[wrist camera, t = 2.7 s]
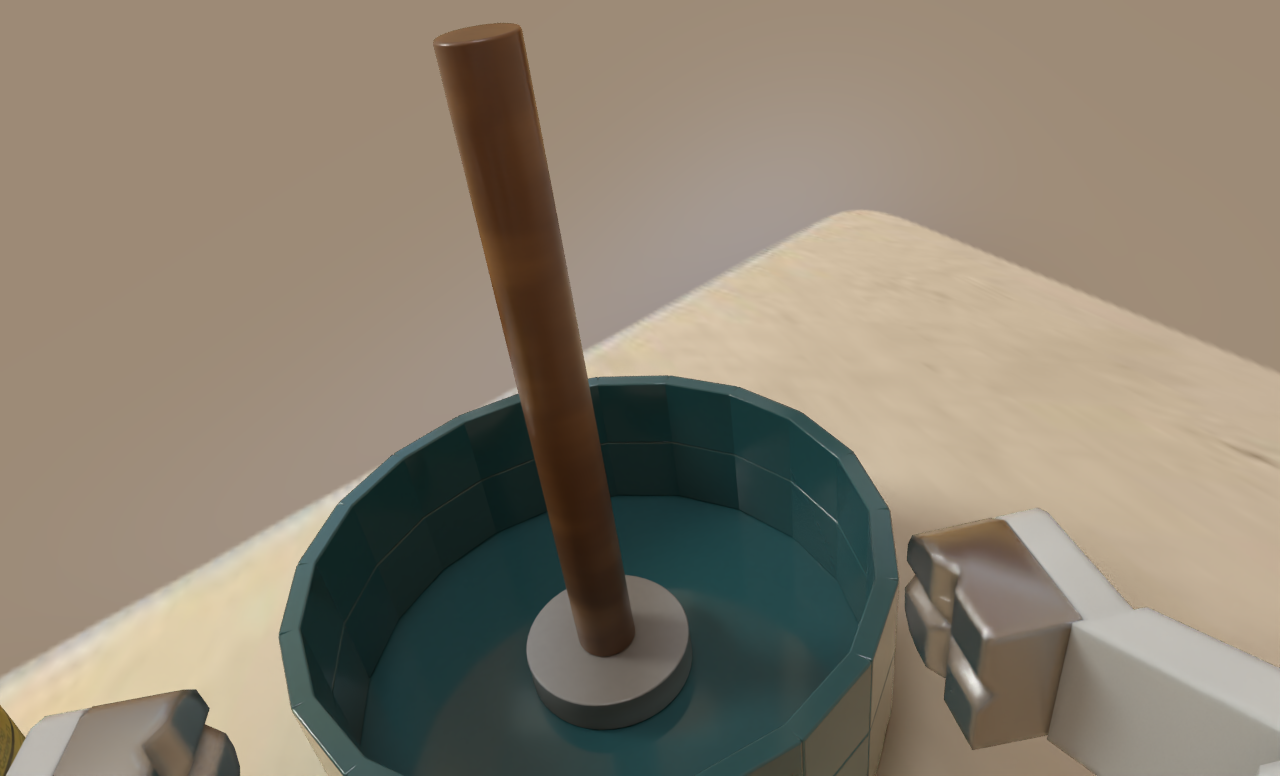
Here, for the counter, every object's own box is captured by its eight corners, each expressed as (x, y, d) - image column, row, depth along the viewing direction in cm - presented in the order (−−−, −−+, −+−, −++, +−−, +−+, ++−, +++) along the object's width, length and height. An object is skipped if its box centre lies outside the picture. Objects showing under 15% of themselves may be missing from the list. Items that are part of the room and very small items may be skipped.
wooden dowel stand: (537, 747, 25) (327, 82, 15) (529, 615, 29) (362, 31, 19) (708, 709, 25) (621, 33, 15) (675, 585, 30) (590, -6, 19)
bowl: (306, 1041, 20) (202, 916, 17) (379, 546, 34) (332, 427, 31) (999, 875, 21) (1029, 728, 18) (788, 463, 35) (784, 340, 32)
